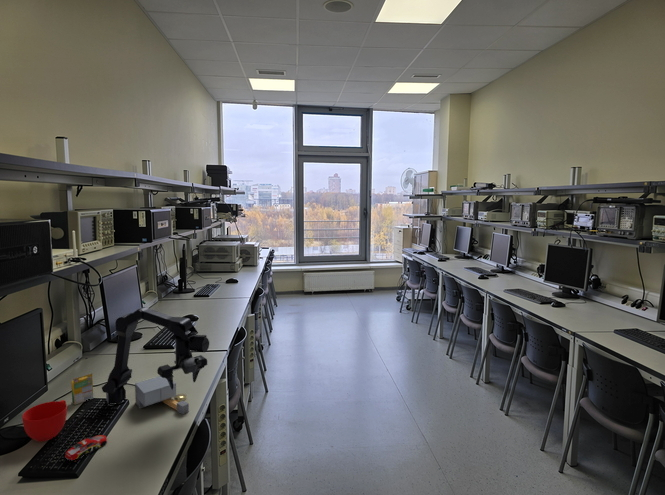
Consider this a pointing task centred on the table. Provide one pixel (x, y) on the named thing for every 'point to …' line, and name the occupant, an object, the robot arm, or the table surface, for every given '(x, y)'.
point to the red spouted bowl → (45, 420)
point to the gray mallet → (178, 405)
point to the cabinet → (153, 391)
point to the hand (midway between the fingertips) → (183, 385)
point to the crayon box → (82, 389)
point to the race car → (85, 447)
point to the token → (180, 397)
